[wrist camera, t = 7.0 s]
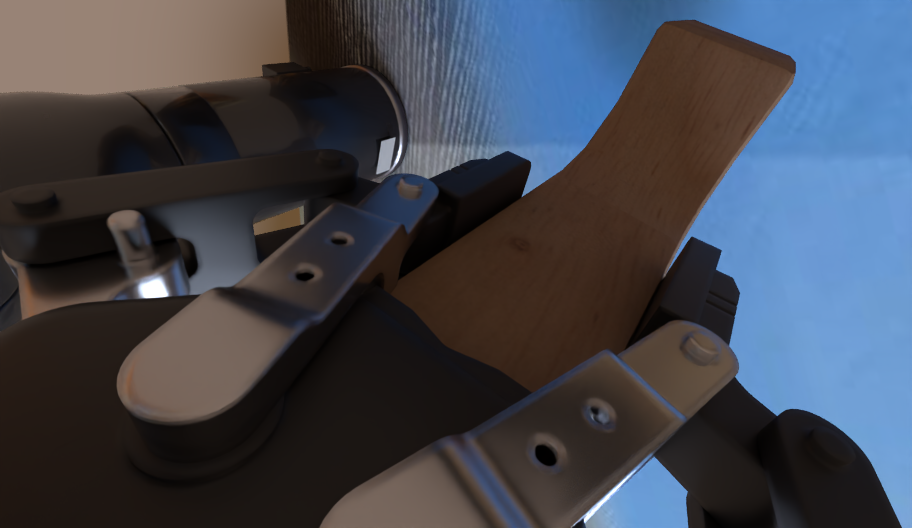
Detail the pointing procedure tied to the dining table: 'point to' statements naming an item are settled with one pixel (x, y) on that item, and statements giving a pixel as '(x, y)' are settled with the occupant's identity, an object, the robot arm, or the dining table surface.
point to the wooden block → (603, 213)
